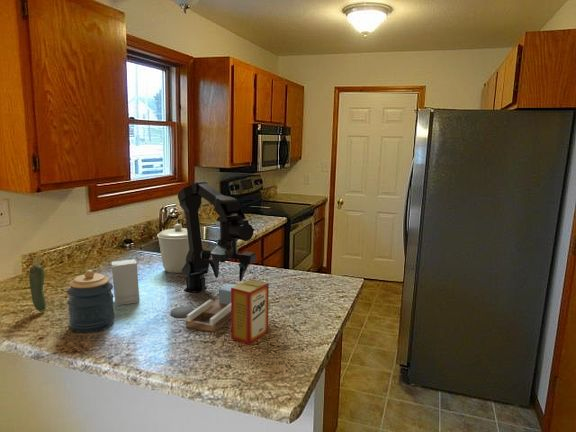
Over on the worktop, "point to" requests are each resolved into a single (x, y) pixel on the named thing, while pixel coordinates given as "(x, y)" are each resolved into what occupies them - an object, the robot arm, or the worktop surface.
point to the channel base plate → (204, 318)
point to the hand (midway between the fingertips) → (228, 279)
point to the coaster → (181, 311)
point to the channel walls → (205, 307)
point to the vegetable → (37, 284)
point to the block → (225, 294)
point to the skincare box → (125, 282)
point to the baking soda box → (249, 311)
